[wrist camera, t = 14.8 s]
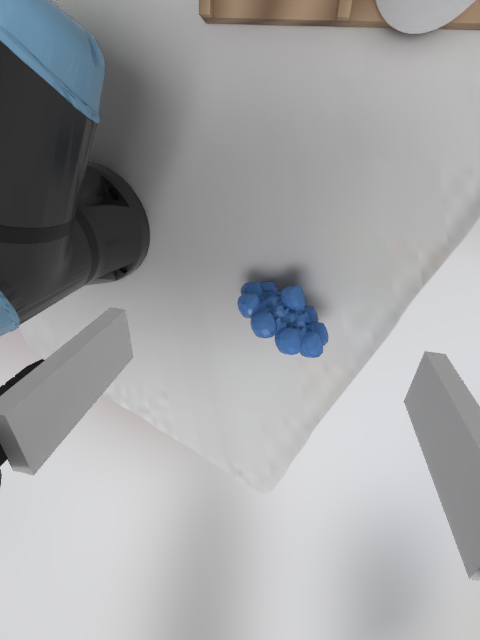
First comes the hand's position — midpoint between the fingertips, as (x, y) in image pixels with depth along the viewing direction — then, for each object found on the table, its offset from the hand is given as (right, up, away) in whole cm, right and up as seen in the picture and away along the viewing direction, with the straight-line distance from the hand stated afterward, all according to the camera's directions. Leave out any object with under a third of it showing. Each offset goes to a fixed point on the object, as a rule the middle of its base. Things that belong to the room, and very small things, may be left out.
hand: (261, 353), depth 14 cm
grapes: (+6, +6, +27) cm, 28 cm away
